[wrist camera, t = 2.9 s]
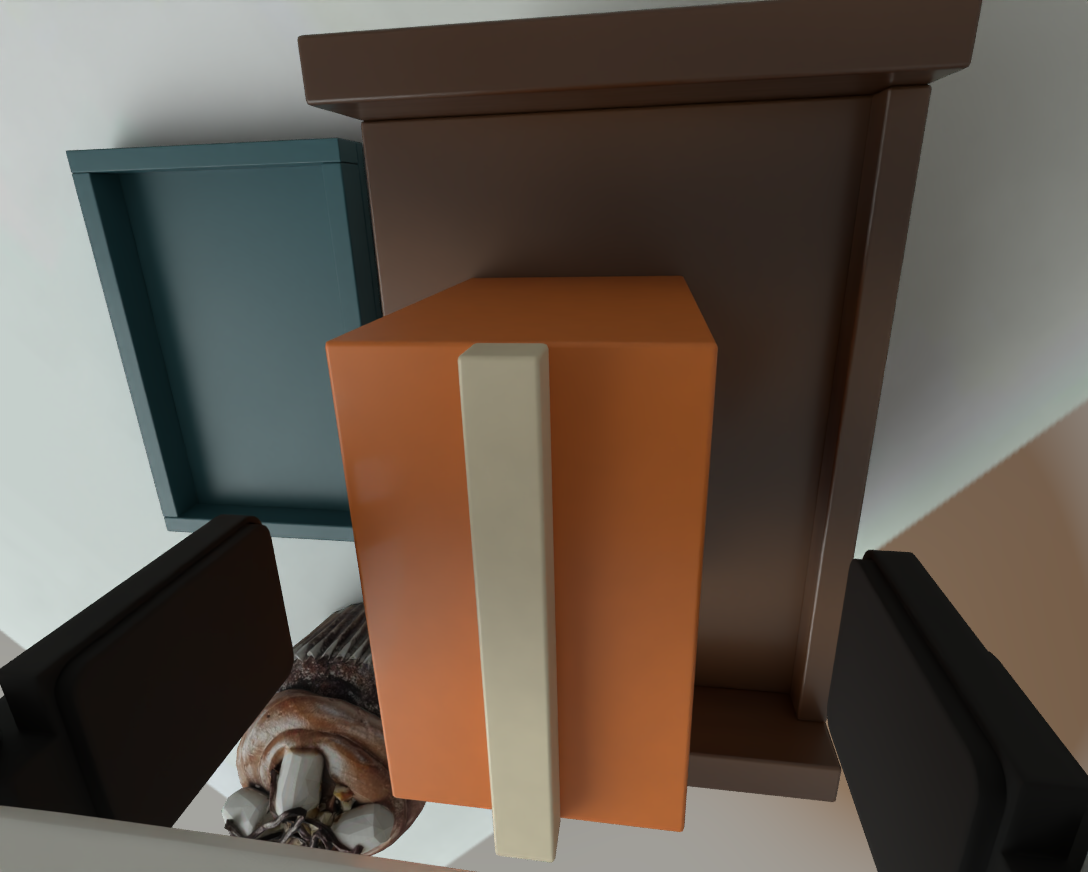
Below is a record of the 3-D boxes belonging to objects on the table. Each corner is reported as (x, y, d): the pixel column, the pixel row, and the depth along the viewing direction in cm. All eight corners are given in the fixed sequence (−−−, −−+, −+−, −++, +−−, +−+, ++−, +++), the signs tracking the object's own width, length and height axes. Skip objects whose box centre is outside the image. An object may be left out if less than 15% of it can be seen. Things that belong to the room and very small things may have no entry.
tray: (108, 154, 26) (64, 150, 24) (362, 142, 24) (337, 137, 22) (196, 511, 32) (166, 531, 30) (406, 522, 30) (390, 544, 28)
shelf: (468, 117, 23) (294, 34, 12) (804, 99, 22) (988, -19, 10) (494, 539, 30) (397, 756, 18) (757, 553, 28) (836, 804, 16)
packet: (469, 277, 15) (290, 354, 8) (684, 275, 15) (726, 358, 7) (488, 570, 18) (373, 841, 11) (669, 581, 18) (687, 882, 10)
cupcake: (504, 652, 32) (447, 837, 23) (420, 761, 36) (341, 959, 26) (342, 554, 31) (215, 703, 22) (274, 676, 35) (139, 847, 26)
